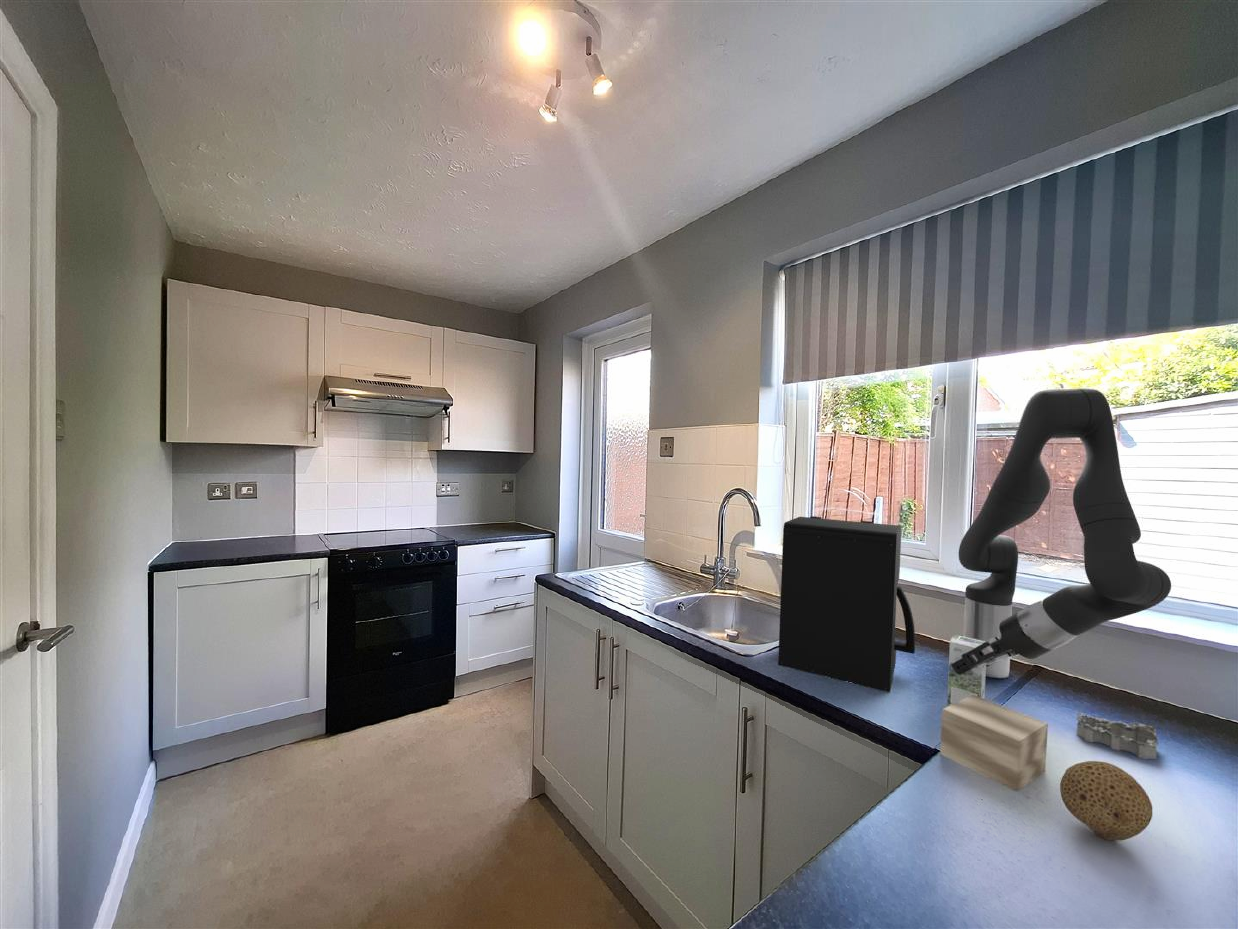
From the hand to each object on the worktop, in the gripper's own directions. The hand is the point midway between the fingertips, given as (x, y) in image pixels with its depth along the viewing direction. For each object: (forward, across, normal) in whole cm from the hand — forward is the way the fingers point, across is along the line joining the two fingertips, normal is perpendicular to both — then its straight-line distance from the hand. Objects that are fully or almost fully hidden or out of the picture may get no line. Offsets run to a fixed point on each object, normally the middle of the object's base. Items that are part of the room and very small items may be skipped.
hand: (968, 666), depth 101 cm
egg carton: (-6, -14, +20) cm, 25 cm away
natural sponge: (-13, +19, +26) cm, 35 cm away
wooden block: (-2, +14, +15) cm, 21 cm away
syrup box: (+7, 0, +7) cm, 9 cm away
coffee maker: (+24, +4, -11) cm, 27 cm away
